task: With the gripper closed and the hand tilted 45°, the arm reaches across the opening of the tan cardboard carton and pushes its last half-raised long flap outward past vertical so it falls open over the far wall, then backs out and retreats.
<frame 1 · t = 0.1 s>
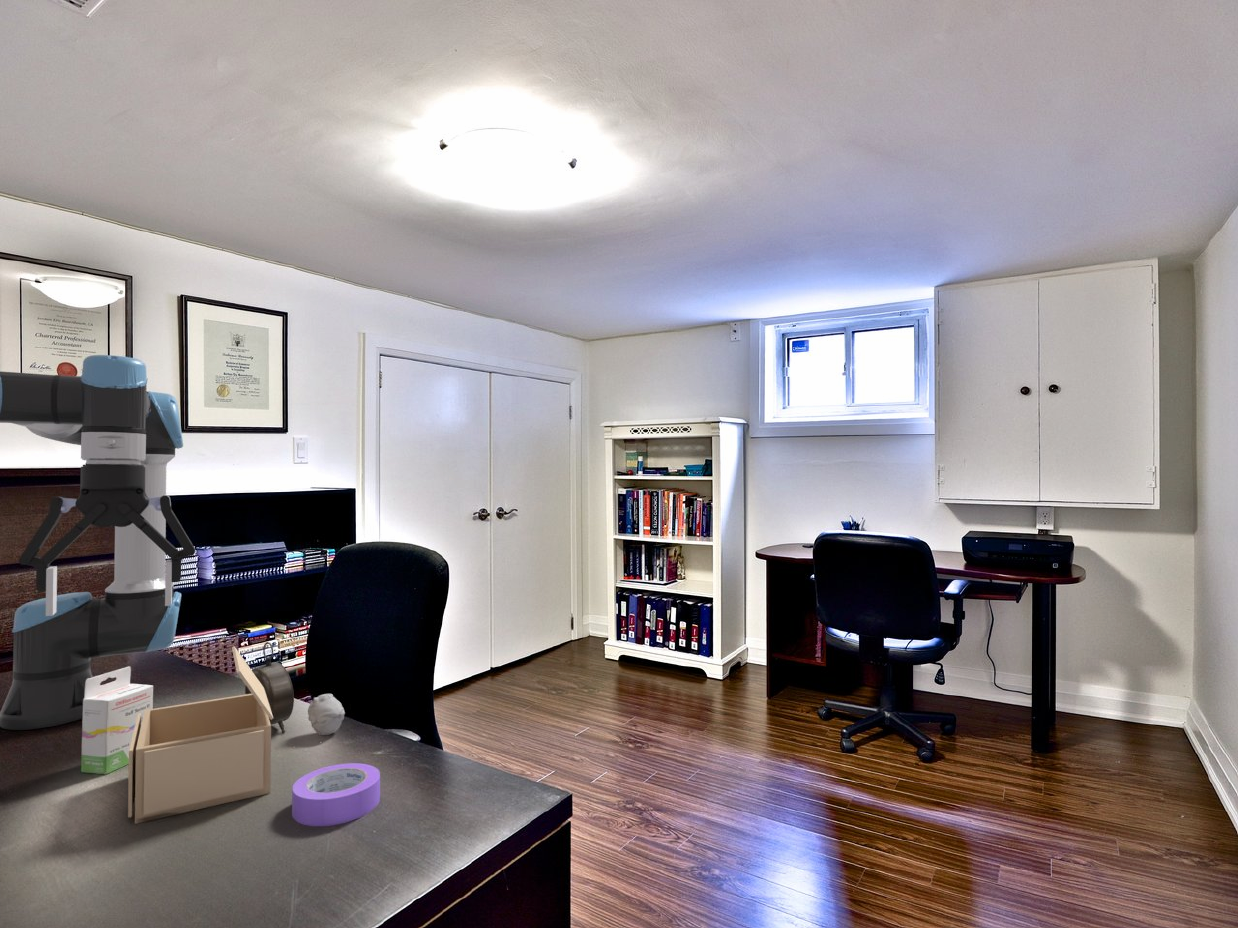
hand: (112, 609, 97), 28 cm above the table, tool pointing down, fingers open, 13 cm apart
flap: (251, 680, 106), point 15 cm above the table, hinge at -30.0°
masking tape: (337, 807, 96), on the table
alarm clock: (267, 730, 124), on the table
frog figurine: (326, 734, 122), on the table
carton: (205, 782, 103), on the table
ink box: (118, 763, 110), on the table
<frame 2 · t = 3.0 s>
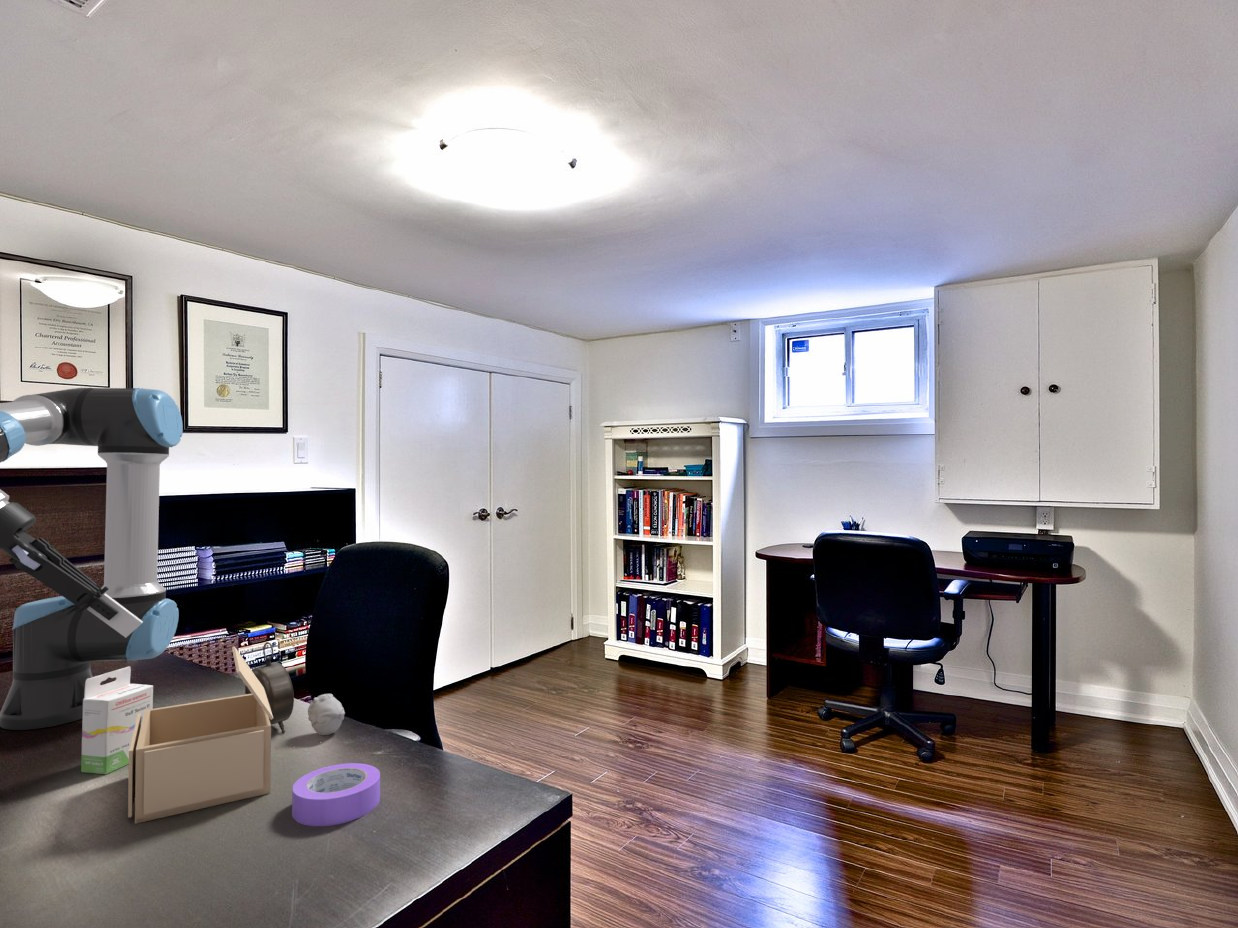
hand: (134, 629, 98), 25 cm above the table, tool tilted 45°, fingers closed
nothing on the table moved.
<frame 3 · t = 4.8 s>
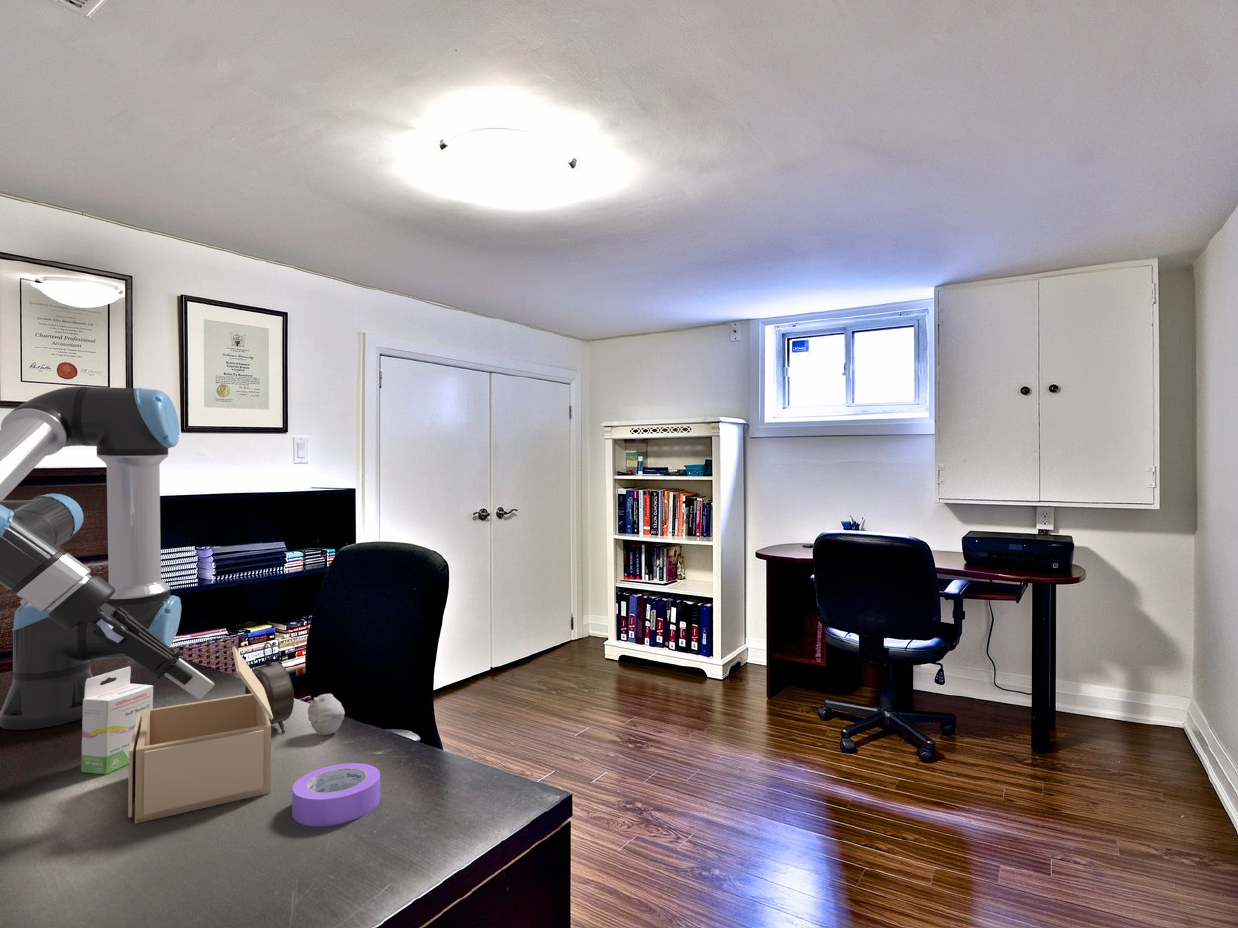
hand: (206, 691, 103), 14 cm above the table, tool tilted 45°, fingers closed
nothing on the table moved.
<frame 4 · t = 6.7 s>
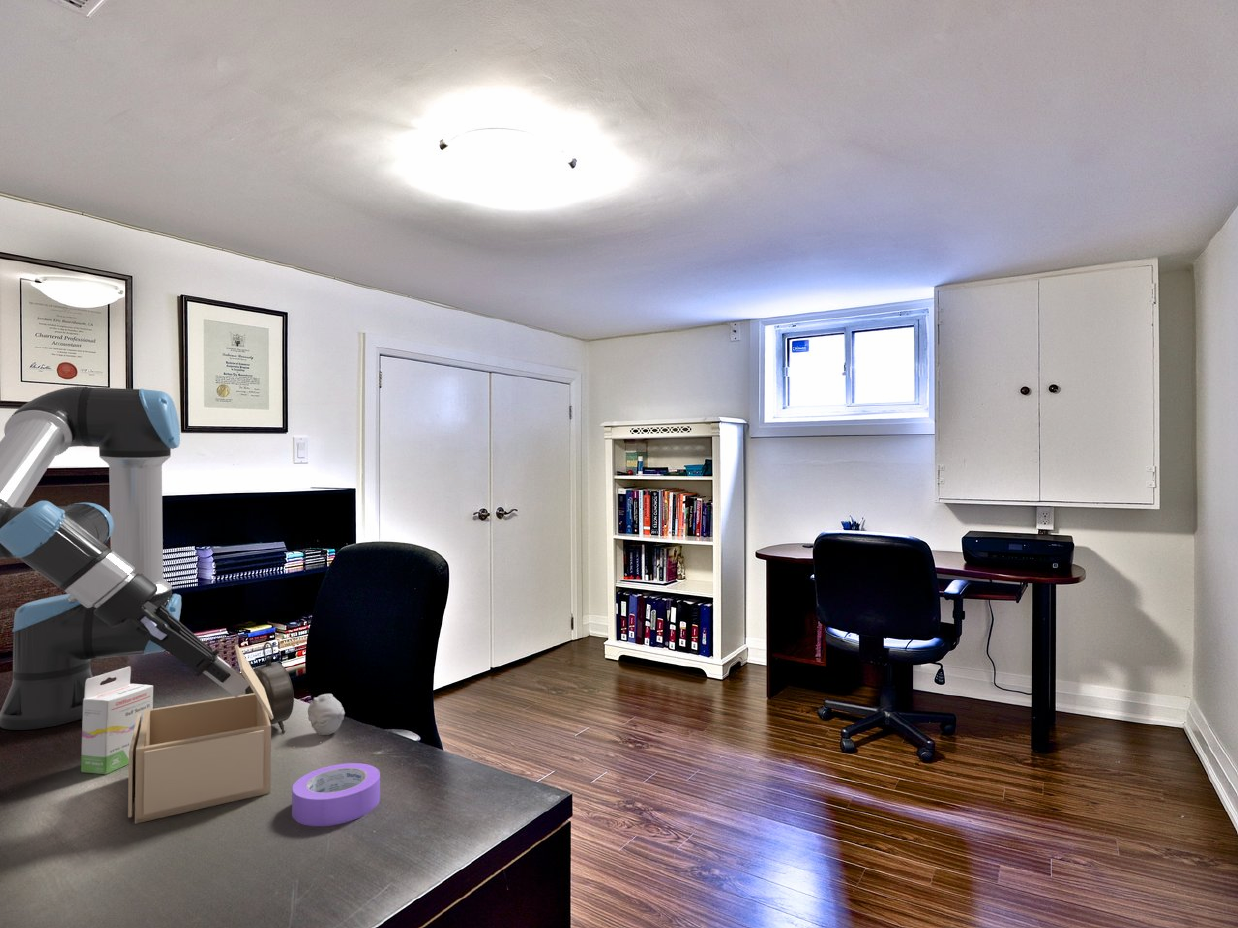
hand: (243, 689, 104), 14 cm above the table, tool tilted 45°, fingers closed
flap: (253, 679, 106), point 15 cm above the table, hinge at -27.1°, touching gripper
everything else where it was.
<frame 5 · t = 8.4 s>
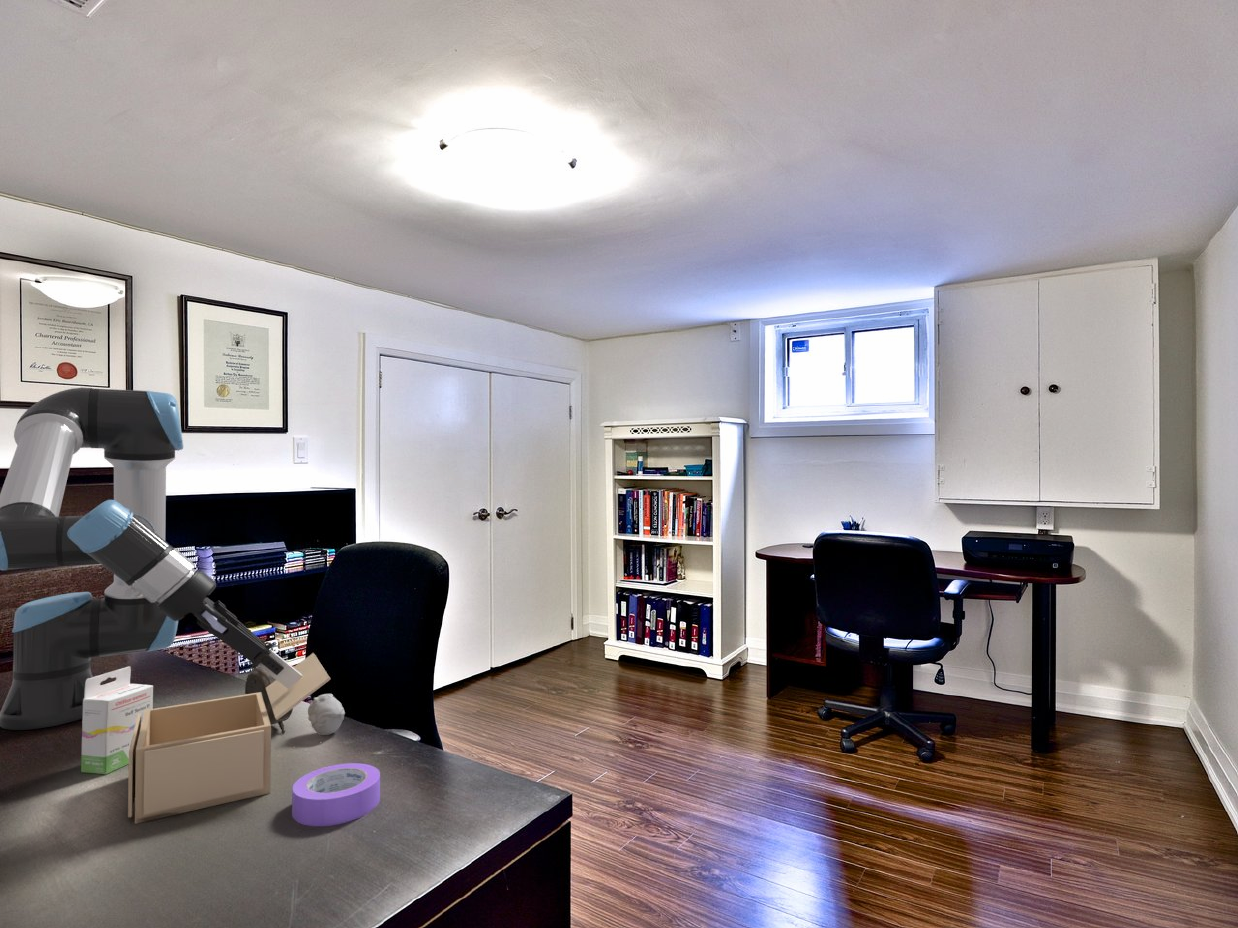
hand: (295, 681, 108), 14 cm above the table, tool tilted 45°, fingers closed
flap: (296, 683, 110), point 13 cm above the table, hinge at 56.7°, touching gripper
everything else where it was.
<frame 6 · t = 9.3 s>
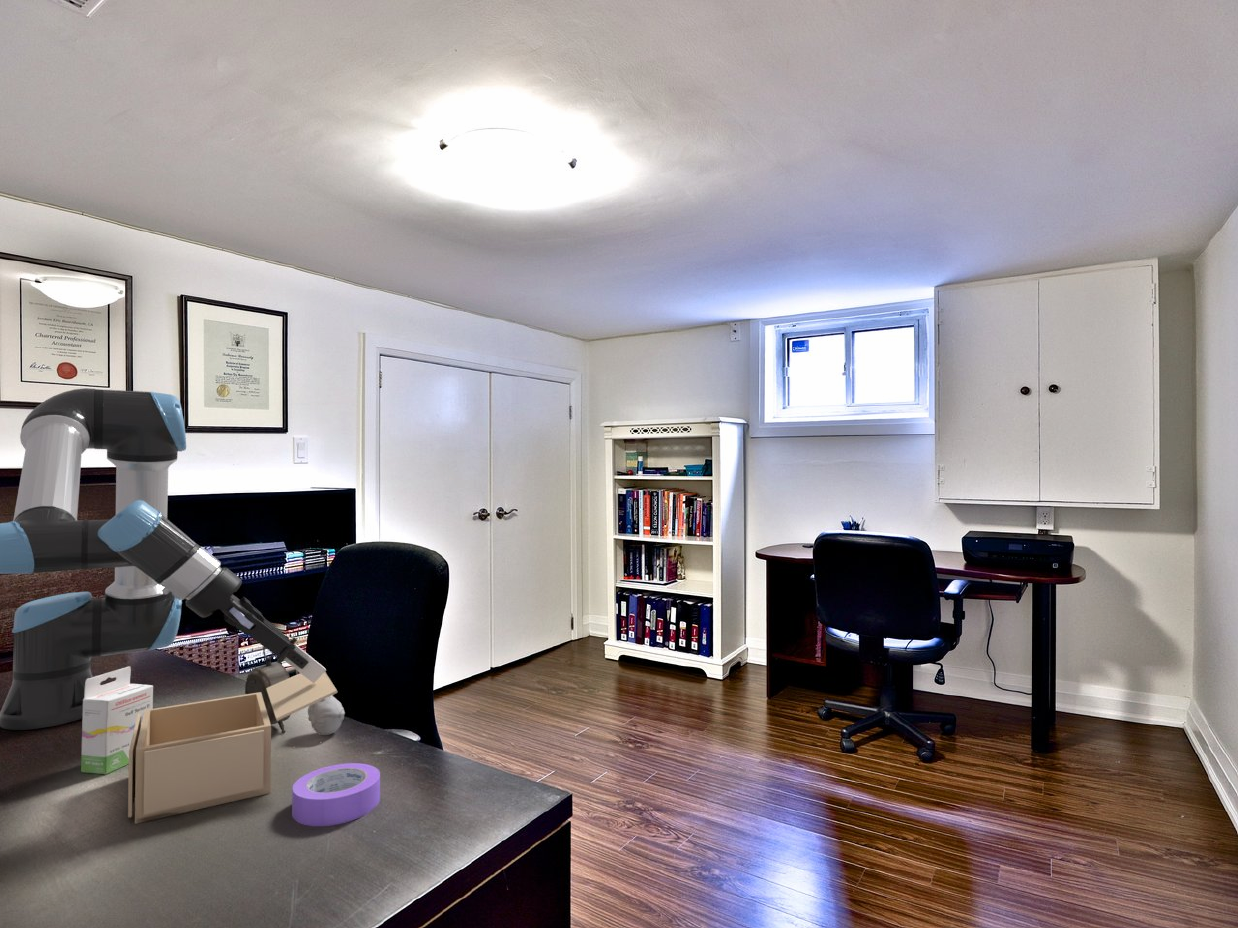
hand: (319, 675, 111), 14 cm above the table, tool tilted 45°, fingers closed
flap: (300, 690, 110), point 12 cm above the table, hinge at 71.9°, touching gripper
everything else where it was.
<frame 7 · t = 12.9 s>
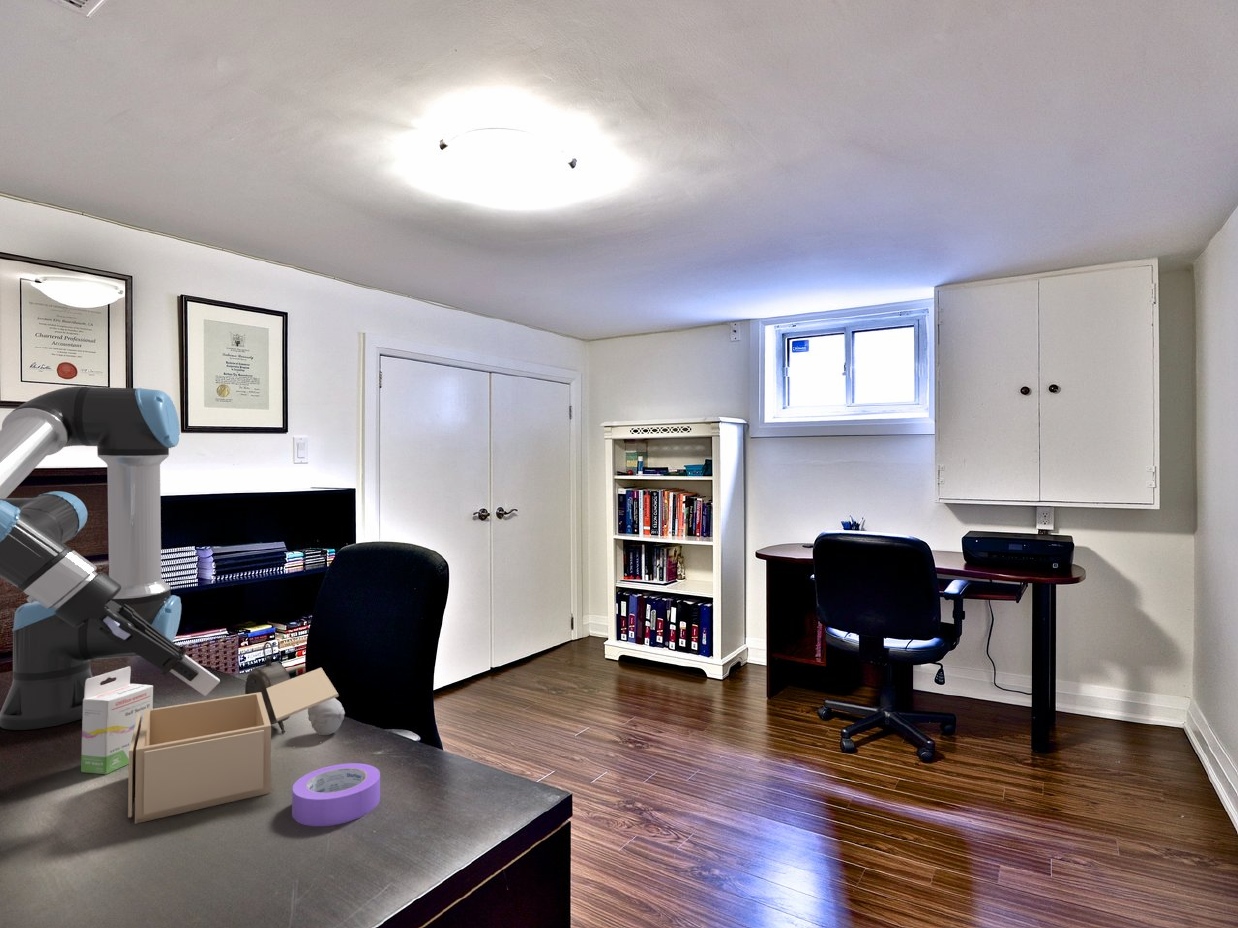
hand: (212, 687, 103), 14 cm above the table, tool tilted 45°, fingers closed
flap: (300, 691, 110), point 12 cm above the table, hinge at 75.6°
everything else where it was.
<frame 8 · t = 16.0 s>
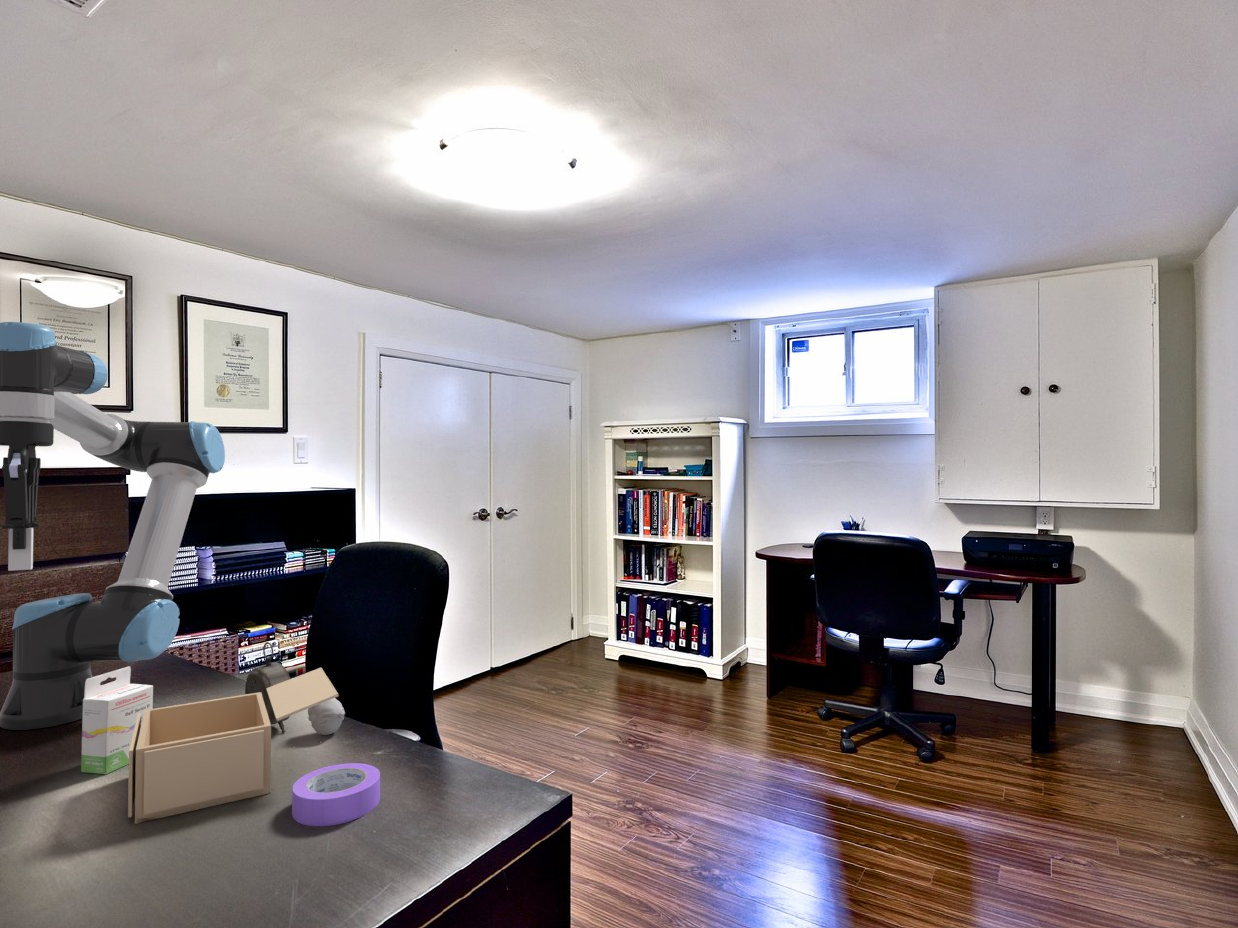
hand: (20, 569, 106), 32 cm above the table, tool pointing down, fingers closed
nothing on the table moved.
at the end: flap at +76° (first picture: -30°) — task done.
